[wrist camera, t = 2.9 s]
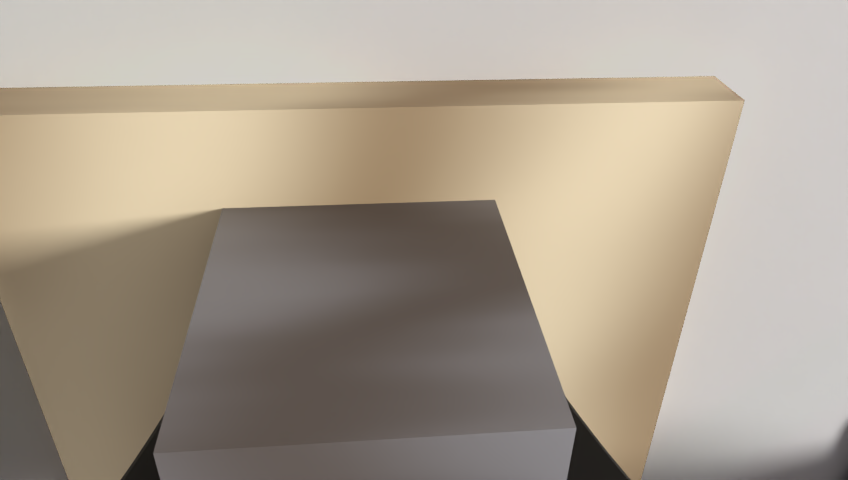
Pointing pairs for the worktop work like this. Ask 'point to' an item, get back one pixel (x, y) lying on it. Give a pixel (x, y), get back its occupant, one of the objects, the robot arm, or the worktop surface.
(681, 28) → the worktop surface
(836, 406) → the worktop surface
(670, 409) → the worktop surface
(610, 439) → the birch board
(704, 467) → the worktop surface
